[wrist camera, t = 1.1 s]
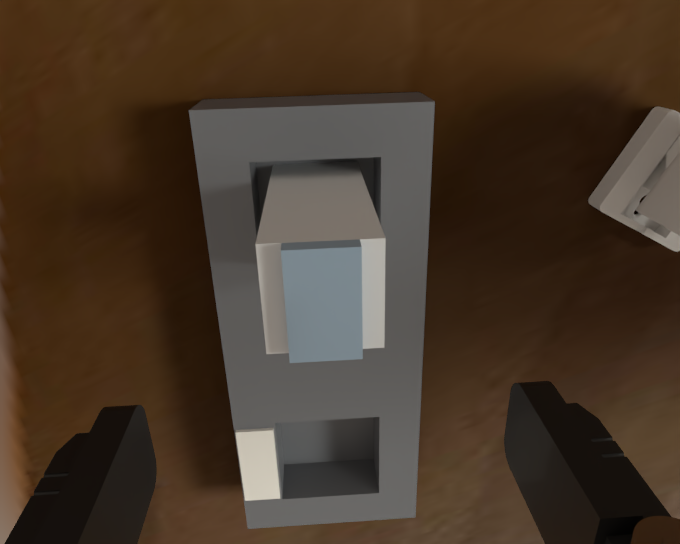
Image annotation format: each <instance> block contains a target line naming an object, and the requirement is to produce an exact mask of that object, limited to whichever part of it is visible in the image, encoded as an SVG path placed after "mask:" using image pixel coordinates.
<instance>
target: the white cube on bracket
mask: <svg viewBox="0 0 680 544" xmlns="http://www.w3.org/2000/svg"><path fill="white" fill-rule="evenodd" d="M645 195H647V196H646V197H645V198H644V199H643V200H642V202H641V203H640V200H641V198H642V197H643V196H645ZM588 203H589V204H590V205H592V206H593V207H595V208H596V209H598V210H599V211H601V212H603V213H604V214H606V215H608V216H610V217H612V218H614V219H616V220H617V221H619V222H621V223H623V224H625V225H627V226H628V227H630V228H632V229H634V230H636V231H638V232H640V233H642V234H643V235H645V236H647V237H649V238H651V239H652V240H654V241H656V242H658V243H660V244H662V245H664V246H665V247H667V248H669V249H671V250H673V251H675V252H678V251H680V113H679V112H677V111H675V110H671V109H667V108H663V107H654V108H653V109H652V110H651V112H650V113H649V114H648V116H647V117H646V119H645V120H644V121H643V123H642V124H641V126H640V127H639V128H638V130H637V131H636V133H635V134H634V135H633V137H632V138H631V140H630V141H629V142H628V144H627V145H626V147H625V148H624V149H623V151H622V152H621V154H620V155H619V156H618V158H617V159H616V161H615V162H614V163H613V165H612V166H611V168H610V169H609V170H608V172H607V173H606V175H605V176H604V177H603V179H602V180H601V182H600V183H599V184H598V186H597V187H596V189H595V190H594V191H593V193H592V194H591V196H590V197H589V199H588ZM635 210H636V211H637V212H638V214H635V215H634V211H635Z"/></svg>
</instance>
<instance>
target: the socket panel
mask: <svg viewBox="0 0 680 544" xmlns="http://www.w3.org/2000/svg"><path fill="white" fill-rule="evenodd" d="M434 109H435V101H433V100H432V99H430V98H428V97H427V96H425V95H424V94H422V93H420V92H403V93H374V94H346V95H317V96H289V97H260V98H232V99H203V100H201V101H200V102H199V103H198V104H196V105H195V106H194V107H192V108H191V109H190V110H189V116H190V123H191V131H192V138H193V145H194V152H195V159H196V166H197V173H198V180H199V187H200V194H201V201H202V208H203V215H204V222H205V229H206V236H207V243H208V251H209V258H210V265H211V272H212V279H213V286H214V293H215V300H216V307H217V314H218V321H219V328H220V335H221V342H222V349H223V356H224V363H225V371H226V378H227V385H228V392H229V399H230V406H231V413H232V420H233V427H234V434H235V441H236V448H237V455H238V462H239V469H240V476H241V484H242V491H243V498H244V505H245V512H246V519H247V526H248V529H253V528H267V527H282V526H297V525H311V524H326V523H340V522H355V521H369V520H384V519H398V518H413V517H415V515H416V494H417V472H418V451H419V429H420V408H421V387H422V365H423V344H424V323H425V301H426V280H427V259H428V237H429V216H430V195H431V173H432V152H433V130H434ZM332 162H358V165H359V168H360V171H361V173H362V176H363V179H364V181H365V184H366V187H367V189H368V192H369V195H370V198H371V200H372V203H373V206H374V208H375V211H376V214H377V216H378V219H379V222H380V224H381V227H382V230H383V233H384V235H385V238H386V247H385V343H384V348H370V349H363V359H355V360H337V361H319V362H302V363H290V360H289V353H280V354H266V345H265V335H264V325H263V315H262V305H261V295H260V286H259V276H258V266H257V256H256V246H255V243H256V239H257V235H258V230H259V226H260V221H261V217H262V212H263V208H264V203H265V199H266V194H267V190H268V185H269V181H270V176H271V172H272V167H273V165H282V164H307V163H332Z"/></svg>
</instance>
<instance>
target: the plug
mask: <svg viewBox="0 0 680 544" xmlns="http://www.w3.org/2000/svg"><path fill="white" fill-rule="evenodd" d="M255 246H256V256H257V266H258V276H259V286H260V295H261V305H262V315H263V325H264V335H265V345H266V354H280V353H289V360H290V363H302V362H319V361H337V360H355V359H363V349H370V348H384V343H385V247H386V238H385V235H384V233H383V230H382V227H381V224H380V222H379V219H378V216H377V214H376V211H375V208H374V206H373V203H372V200H371V198H370V195H369V192H368V189H367V187H366V184H365V181H364V179H363V176H362V173H361V171H360V168H359V165H358V162H332V163H307V164H282V165H273V167H272V172H271V176H270V181H269V185H268V190H267V194H266V199H265V203H264V208H263V212H262V217H261V221H260V226H259V230H258V235H257V239H256V243H255Z"/></svg>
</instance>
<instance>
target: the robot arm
mask: <svg viewBox="0 0 680 544" xmlns="http://www.w3.org/2000/svg"><path fill="white" fill-rule="evenodd" d="M504 445H505V453H506V458H507V461H508V464H509V467H510V469H511V471H512V473H513V476H514V478H515V480H516V482H517V484H518V486H519V488H520V491H521V493H522V495H523V497H524V499H525V501H526V503H527V506H528V508H529V510H530V512H531V514H532V516H533V519H534V521H535V523H536V525H537V527H538V529H539V531H540V534H541V536H542V538H543V540H544V542H545V544H680V519H677V518H672V517H671V516H670V514H669V513H668V512H667V510H666V509H665V508H664V506H663V505H662V504H661V502H660V501H659V500H658V498H657V497H656V495H655V494H654V493H653V491H652V490H651V489H650V487H649V486H648V485H647V483H646V482H645V481H644V479H643V478H642V477H641V475H640V474H639V473H638V471H637V470H636V469H635V467H634V466H633V465H632V463H631V462H630V461H629V459H628V458H627V457H624V453H623V451H622V450H621V448H620V447H619V446H618V444H617V443H616V442H615V441H613V440H612V436H611V435H610V434H609V432H608V431H607V430H606V428H605V427H604V426H603V424H602V423H601V422H600V420H599V419H598V418H597V417H595V416H594V415H593V414H591V413H590V412H588V411H587V410H586V409H584V408H583V407H582V406H580V405H579V404H577V403H571V404H566V402H565V401H564V399H563V398H562V397H561V395H560V394H559V392H558V391H557V389H556V388H555V386H554V385H553V384H552V383H551V382H549V381H541V382H525V383H514V384H513V386H512V388H511V393H510V400H509V407H508V415H507V422H506V429H505V437H504ZM155 482H156V458H155V454H154V449H153V445H152V440H151V436H150V432H149V427H148V423H147V418H146V414H145V411H144V408H143V407H142V406H141V405H131V406H115V407H104V408H103V409H102V410H101V411H100V413H99V415H98V417H97V419H96V421H95V423H94V425H93V427H92V429H91V431H90V433H79V434H76V435H75V436H74V437H72V438H71V439H70V440H69V441H68V442H67V443H66V444H65V445H64V446H63V447H62V448H61V449H59V450H58V451H57V452H56V454H55V455H54V457H53V459H52V461H51V462H50V464H49V466H48V468H47V470H46V471H45V473H44V478H41V480H40V482H39V484H38V485H37V487H36V489H35V491H34V496H31V498H30V500H29V501H28V503H27V505H26V507H25V508H24V510H23V512H22V514H21V515H20V517H19V519H18V521H17V523H16V524H15V526H14V528H13V530H12V531H11V533H10V535H9V537H8V539H7V540H6V542H5V544H137V543H138V539H139V536H140V533H141V530H142V527H143V523H144V520H145V517H146V514H147V511H148V507H149V504H150V501H151V498H152V495H153V491H154V488H155Z"/></svg>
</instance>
